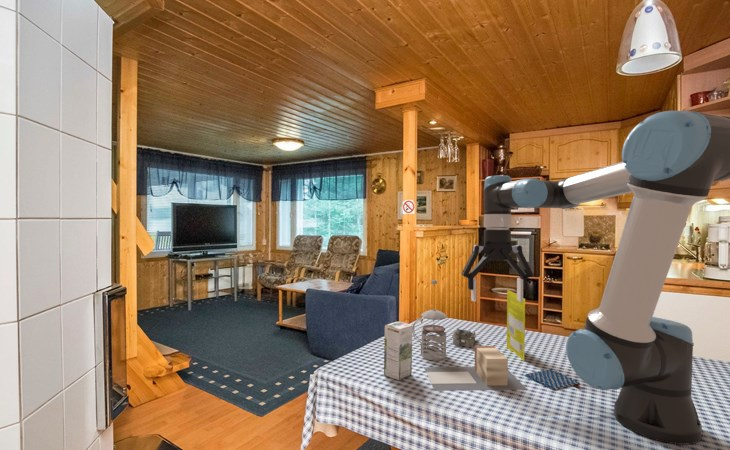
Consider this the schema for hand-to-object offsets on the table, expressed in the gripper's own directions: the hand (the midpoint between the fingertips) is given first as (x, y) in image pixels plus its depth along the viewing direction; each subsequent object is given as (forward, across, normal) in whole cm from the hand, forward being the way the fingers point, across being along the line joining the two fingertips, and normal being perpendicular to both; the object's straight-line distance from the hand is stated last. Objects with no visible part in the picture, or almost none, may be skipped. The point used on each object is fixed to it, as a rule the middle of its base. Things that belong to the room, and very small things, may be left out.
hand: (496, 300), depth 113 cm
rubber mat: (+20, +9, +8) cm, 24 cm away
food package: (+20, -10, -12) cm, 26 cm away
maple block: (+19, +4, +8) cm, 21 cm away
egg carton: (+20, +3, -24) cm, 32 cm away
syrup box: (+20, +30, +5) cm, 36 cm away
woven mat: (+21, -12, +9) cm, 26 cm away
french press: (+20, +18, -9) cm, 28 cm away
